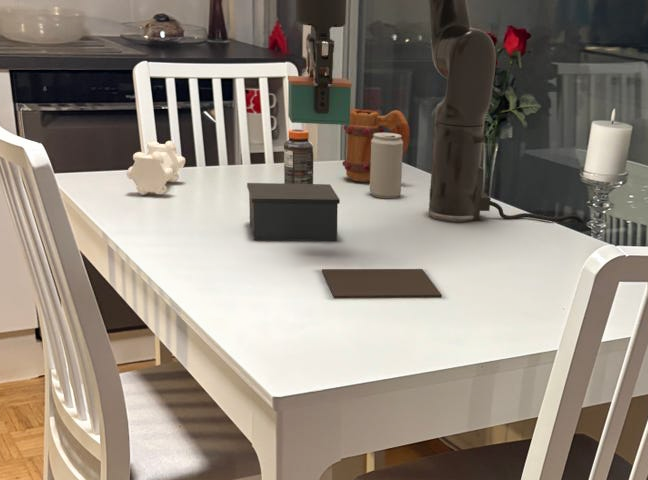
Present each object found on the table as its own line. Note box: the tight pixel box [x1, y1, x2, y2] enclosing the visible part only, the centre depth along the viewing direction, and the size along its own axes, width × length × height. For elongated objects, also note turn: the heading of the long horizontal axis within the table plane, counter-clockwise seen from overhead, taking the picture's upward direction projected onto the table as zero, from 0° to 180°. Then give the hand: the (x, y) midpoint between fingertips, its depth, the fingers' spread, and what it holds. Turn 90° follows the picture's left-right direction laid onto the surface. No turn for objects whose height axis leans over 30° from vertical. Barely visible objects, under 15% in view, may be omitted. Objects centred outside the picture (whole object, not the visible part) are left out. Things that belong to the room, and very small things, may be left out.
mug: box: [342, 108, 411, 183], centre depth 207 cm, size 15×8×15 cm, turn 72°
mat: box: [321, 268, 443, 299], centre depth 147 cm, size 16×13×1 cm
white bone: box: [126, 140, 186, 196], centre depth 190 cm, size 15×9×8 cm, turn 1°
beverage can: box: [369, 132, 404, 199], centre depth 197 cm, size 6×6×12 cm
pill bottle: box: [283, 128, 314, 184], centre depth 198 cm, size 6×6×11 cm
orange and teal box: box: [287, 75, 353, 126], centre depth 151 cm, size 9×6×6 cm
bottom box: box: [246, 182, 341, 241], centre depth 168 cm, size 15×12×7 cm
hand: (319, 109), depth 151 cm, fingers closed on orange and teal box, 6 cm apart
